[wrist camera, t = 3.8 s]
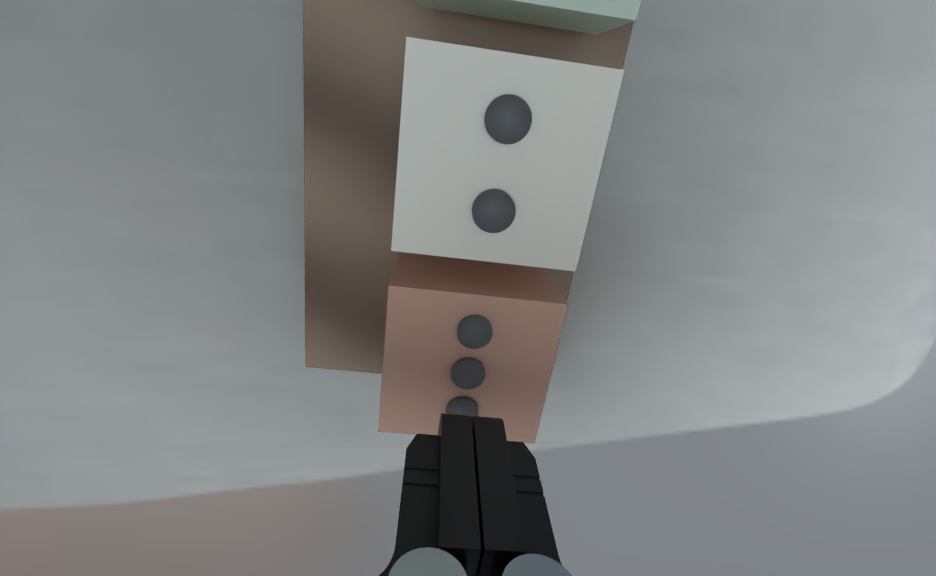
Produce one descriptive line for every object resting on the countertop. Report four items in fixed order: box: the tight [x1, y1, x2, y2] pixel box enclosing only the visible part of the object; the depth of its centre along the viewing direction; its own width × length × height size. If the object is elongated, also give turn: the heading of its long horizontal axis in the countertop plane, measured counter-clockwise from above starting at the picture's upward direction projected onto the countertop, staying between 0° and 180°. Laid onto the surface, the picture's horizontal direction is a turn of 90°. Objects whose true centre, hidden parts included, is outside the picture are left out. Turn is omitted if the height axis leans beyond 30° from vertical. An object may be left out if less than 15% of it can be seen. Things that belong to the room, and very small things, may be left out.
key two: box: [391, 37, 624, 271], centre depth 13 cm, size 5×5×3 cm
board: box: [303, 0, 633, 373], centre depth 16 cm, size 19×10×1 cm, turn 172°
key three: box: [378, 252, 568, 443], centre depth 15 cm, size 5×5×3 cm
